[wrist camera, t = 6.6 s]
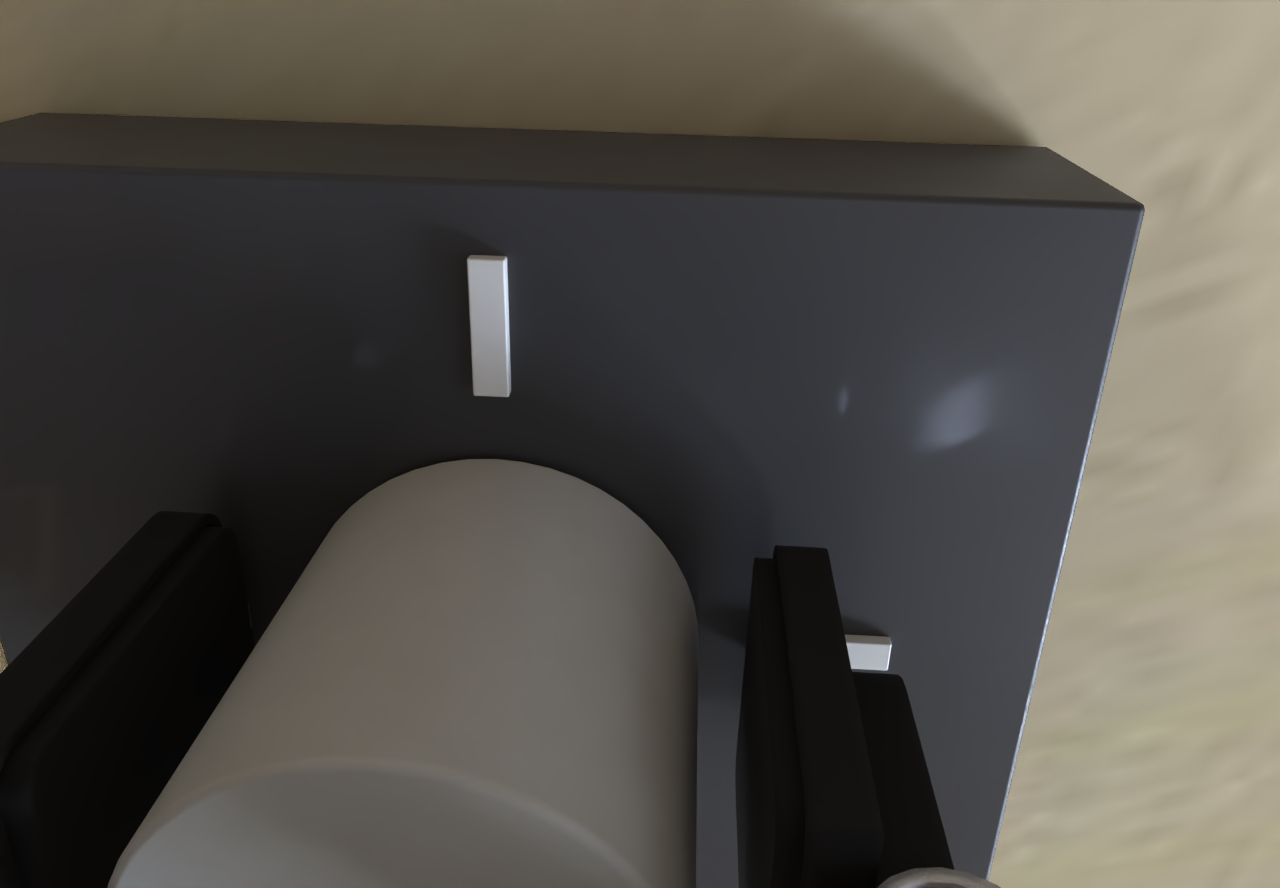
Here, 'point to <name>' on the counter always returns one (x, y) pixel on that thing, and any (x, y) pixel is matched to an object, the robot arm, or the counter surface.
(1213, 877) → the counter surface
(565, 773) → the hob knob
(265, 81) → the counter surface
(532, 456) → the panel
